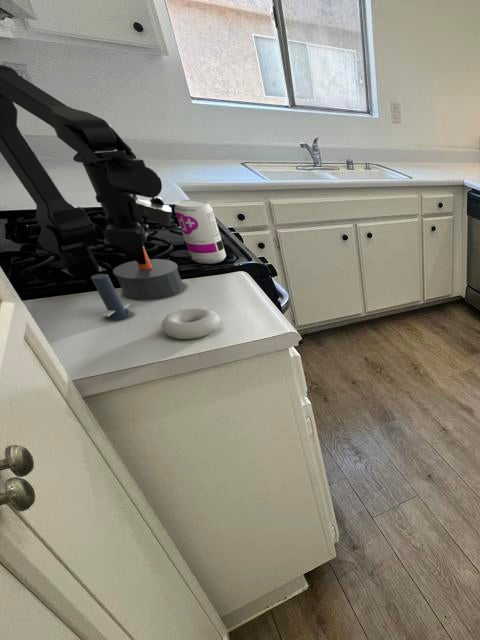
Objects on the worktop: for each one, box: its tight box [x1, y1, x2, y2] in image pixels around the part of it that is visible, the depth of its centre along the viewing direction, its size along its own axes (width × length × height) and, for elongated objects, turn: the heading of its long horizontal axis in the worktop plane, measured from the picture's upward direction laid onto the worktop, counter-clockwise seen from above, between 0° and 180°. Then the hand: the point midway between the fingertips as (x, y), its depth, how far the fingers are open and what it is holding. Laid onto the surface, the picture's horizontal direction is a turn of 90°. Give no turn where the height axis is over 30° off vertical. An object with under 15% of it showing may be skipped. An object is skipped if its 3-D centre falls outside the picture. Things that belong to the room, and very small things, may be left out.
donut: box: [161, 307, 221, 340], centre depth 86 cm, size 10×3×10 cm
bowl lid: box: [112, 245, 179, 280], centre depth 94 cm, size 12×12×6 cm
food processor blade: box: [90, 273, 131, 321], centre depth 85 cm, size 7×4×9 cm, turn 6°
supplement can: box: [174, 199, 227, 265], centre depth 111 cm, size 8×8×15 cm
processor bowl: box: [116, 269, 185, 301], centre depth 97 cm, size 11×11×5 cm
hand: (143, 261), depth 95 cm, fingers closed on bowl lid, 2 cm apart
